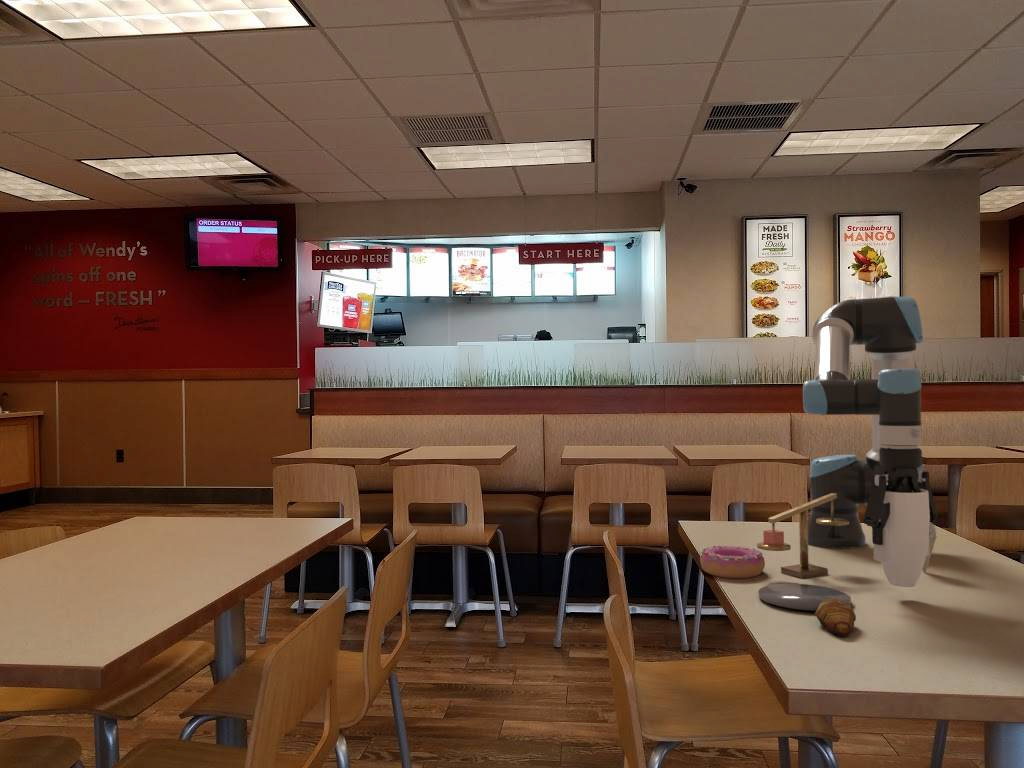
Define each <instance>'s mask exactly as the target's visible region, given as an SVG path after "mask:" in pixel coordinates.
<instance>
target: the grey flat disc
mask: <svg viewBox="0 0 1024 768" xmlns="http://www.w3.org/2000/svg"><path fill="white" fill-rule="evenodd" d="M757 595H758V597H759V598H760V599H761V600H762V601H764V602H766V603H768V604H772V605H773V606H778V607H783V608H788V609H792V610H793V609H794V610H802V611H803V610H804V611H813V612H814V611H815V612H816V611H817V609H818V607H819V605H820V603H822V602H825V601H829V600H832V599H837V600H839V601H842V602H844V603H846V604H849V605H850V606H851V603H852V598H851V596H850V595H849V594H847V593H846V592H844V591H840V590H838V589H835V588H831V587H827V586H823V585H815V584H807V583H776V584H770V585H766V586H763V587H761V588H759V589H758V594H757Z"/></svg>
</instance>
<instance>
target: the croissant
mask: <svg viewBox="0 0 1024 768" xmlns="http://www.w3.org/2000/svg"><path fill="white" fill-rule="evenodd" d="M814 614H815V616H816V618H817V619H818V621H819V623H820V625H822V626H823V627H825V628H826V629H827V630H828V631H830V632H831V633H832V634H834V635H836V636H837V635H838V636H841V637H847V636H849V634H850V633H851V631H852V629H853V628H854V626H855V621H856V620H857V615H856V613H855V611H854V610H853V608H852V605H851V604H850V605H849V604H846V603H844V602H842V601H839V600H837V599H832V600H829V601H825V602H822V603H820V605H819V607H818V609H817V611H815V613H814Z"/></svg>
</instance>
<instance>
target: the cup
mask: <svg viewBox="0 0 1024 768" xmlns="http://www.w3.org/2000/svg"><path fill="white" fill-rule="evenodd" d="M920 490H921V492H920V493H898V492H890V491H889V492H886V493H885V497H884V501H883V503H884V504H885V503H889V502H890V515H889V518H888V520H887V522H886V525H885V527H884V528H888V551H889V562H887V563H885V562H881V561H880V564H881V566H882V570H883V572H884V575H885V577H886V579H887V581H888V583H889V584H890V585H891V586H895V587H900V588H914V587H915V586H916V585H917V584H918V581H919V579H920V577H921V574H922V571H923V566H924V563H925V558H926V553H927V548H928V544H929V527H930V510H929V494H928V491H927V490H924V489H920ZM879 521H880V520H879Z"/></svg>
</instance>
